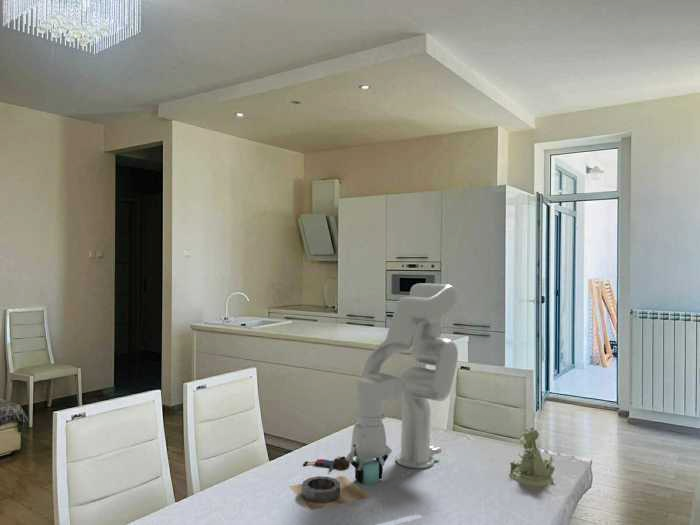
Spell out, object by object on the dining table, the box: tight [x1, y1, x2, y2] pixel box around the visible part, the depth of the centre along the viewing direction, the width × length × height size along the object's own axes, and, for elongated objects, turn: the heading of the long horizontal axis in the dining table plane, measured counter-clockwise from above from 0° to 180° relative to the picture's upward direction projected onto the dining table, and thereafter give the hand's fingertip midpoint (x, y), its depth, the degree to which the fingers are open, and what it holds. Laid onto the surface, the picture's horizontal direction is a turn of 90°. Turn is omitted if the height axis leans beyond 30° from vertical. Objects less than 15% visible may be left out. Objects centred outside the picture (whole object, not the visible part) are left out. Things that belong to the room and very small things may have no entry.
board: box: [289, 475, 371, 511], centre depth 151 cm, size 18×16×1 cm
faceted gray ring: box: [301, 475, 340, 504], centre depth 149 cm, size 10×10×3 cm
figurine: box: [509, 427, 556, 487], centre depth 166 cm, size 14×13×15 cm
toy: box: [302, 455, 351, 475], centre depth 171 cm, size 14×5×15 cm
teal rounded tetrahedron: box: [361, 458, 380, 485], centre depth 160 cm, size 6×6×6 cm
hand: (368, 479), depth 160 cm, fingers closed on teal rounded tetrahedron, 6 cm apart
